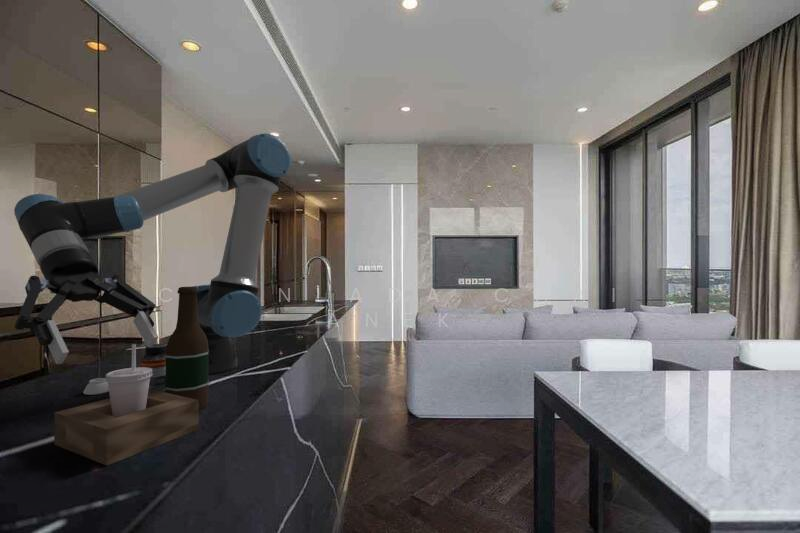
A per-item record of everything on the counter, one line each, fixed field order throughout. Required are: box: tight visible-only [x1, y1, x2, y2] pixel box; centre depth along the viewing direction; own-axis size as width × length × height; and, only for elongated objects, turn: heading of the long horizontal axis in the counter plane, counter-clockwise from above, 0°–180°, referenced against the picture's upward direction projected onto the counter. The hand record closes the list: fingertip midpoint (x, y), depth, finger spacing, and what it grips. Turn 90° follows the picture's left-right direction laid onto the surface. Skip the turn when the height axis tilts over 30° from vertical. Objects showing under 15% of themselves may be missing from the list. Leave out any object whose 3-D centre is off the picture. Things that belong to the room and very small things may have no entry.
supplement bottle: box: [139, 343, 167, 393], centre depth 84 cm, size 6×6×11 cm
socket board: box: [53, 389, 200, 466], centre depth 64 cm, size 14×15×5 cm
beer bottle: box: [166, 286, 209, 411], centre depth 78 cm, size 8×8×24 cm
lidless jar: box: [82, 377, 109, 396], centre depth 88 cm, size 5×3×5 cm
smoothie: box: [105, 343, 153, 417], centre depth 64 cm, size 6×6×14 cm
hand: (112, 349), depth 65 cm, fingers open, 13 cm apart
